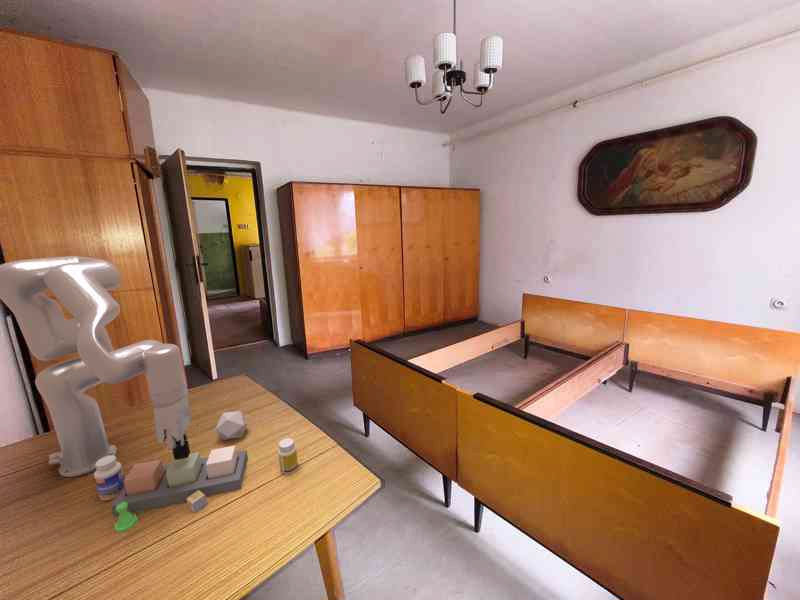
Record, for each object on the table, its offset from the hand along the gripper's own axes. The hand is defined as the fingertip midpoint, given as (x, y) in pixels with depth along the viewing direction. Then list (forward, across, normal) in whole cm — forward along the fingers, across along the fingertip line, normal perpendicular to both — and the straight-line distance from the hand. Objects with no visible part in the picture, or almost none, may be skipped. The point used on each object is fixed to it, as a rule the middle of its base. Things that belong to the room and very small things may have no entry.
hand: (182, 456), depth 86 cm
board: (+9, 0, 0) cm, 9 cm away
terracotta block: (+7, 0, -9) cm, 11 cm away
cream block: (+7, 0, +9) cm, 11 cm away
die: (+9, -19, +8) cm, 23 cm away
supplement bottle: (+9, +2, +26) cm, 28 cm away
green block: (+7, 0, 0) cm, 7 cm away
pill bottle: (+9, -3, -18) cm, 20 cm away
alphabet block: (+9, +8, +4) cm, 13 cm away
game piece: (+9, +9, -10) cm, 16 cm away
